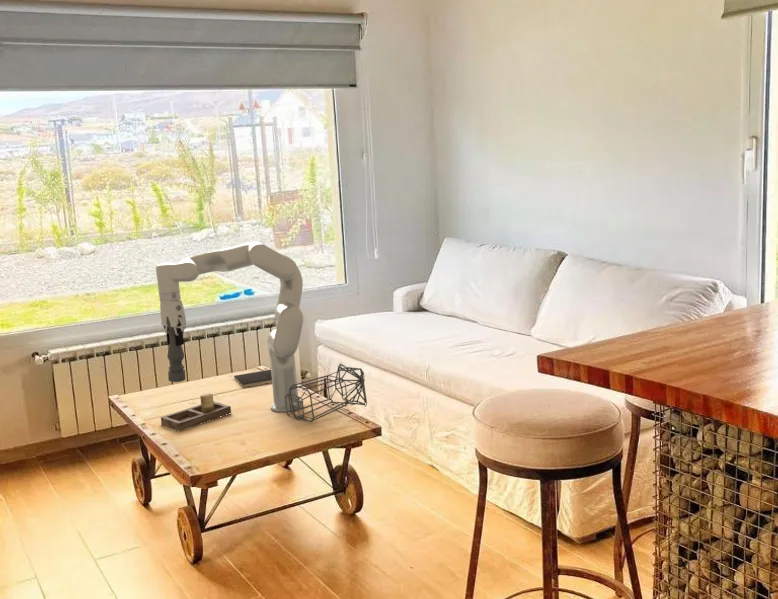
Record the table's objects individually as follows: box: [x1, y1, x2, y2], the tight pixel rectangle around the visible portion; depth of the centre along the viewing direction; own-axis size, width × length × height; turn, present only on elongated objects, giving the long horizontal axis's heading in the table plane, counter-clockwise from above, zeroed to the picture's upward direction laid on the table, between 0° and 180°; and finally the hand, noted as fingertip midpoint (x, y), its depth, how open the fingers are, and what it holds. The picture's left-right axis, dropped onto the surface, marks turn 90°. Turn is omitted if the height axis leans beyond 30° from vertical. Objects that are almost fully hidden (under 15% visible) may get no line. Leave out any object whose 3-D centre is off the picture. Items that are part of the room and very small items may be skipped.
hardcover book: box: [233, 369, 272, 388], centre depth 381 cm, size 16×23×2 cm
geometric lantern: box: [285, 363, 368, 423], centre depth 330 cm, size 16×16×35 cm
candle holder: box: [166, 317, 186, 383], centre depth 323 cm, size 6×6×25 cm
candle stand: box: [160, 393, 232, 432], centre depth 332 cm, size 12×23×8 cm, turn 136°
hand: (175, 343), depth 323 cm, fingers closed on candle holder, 5 cm apart
